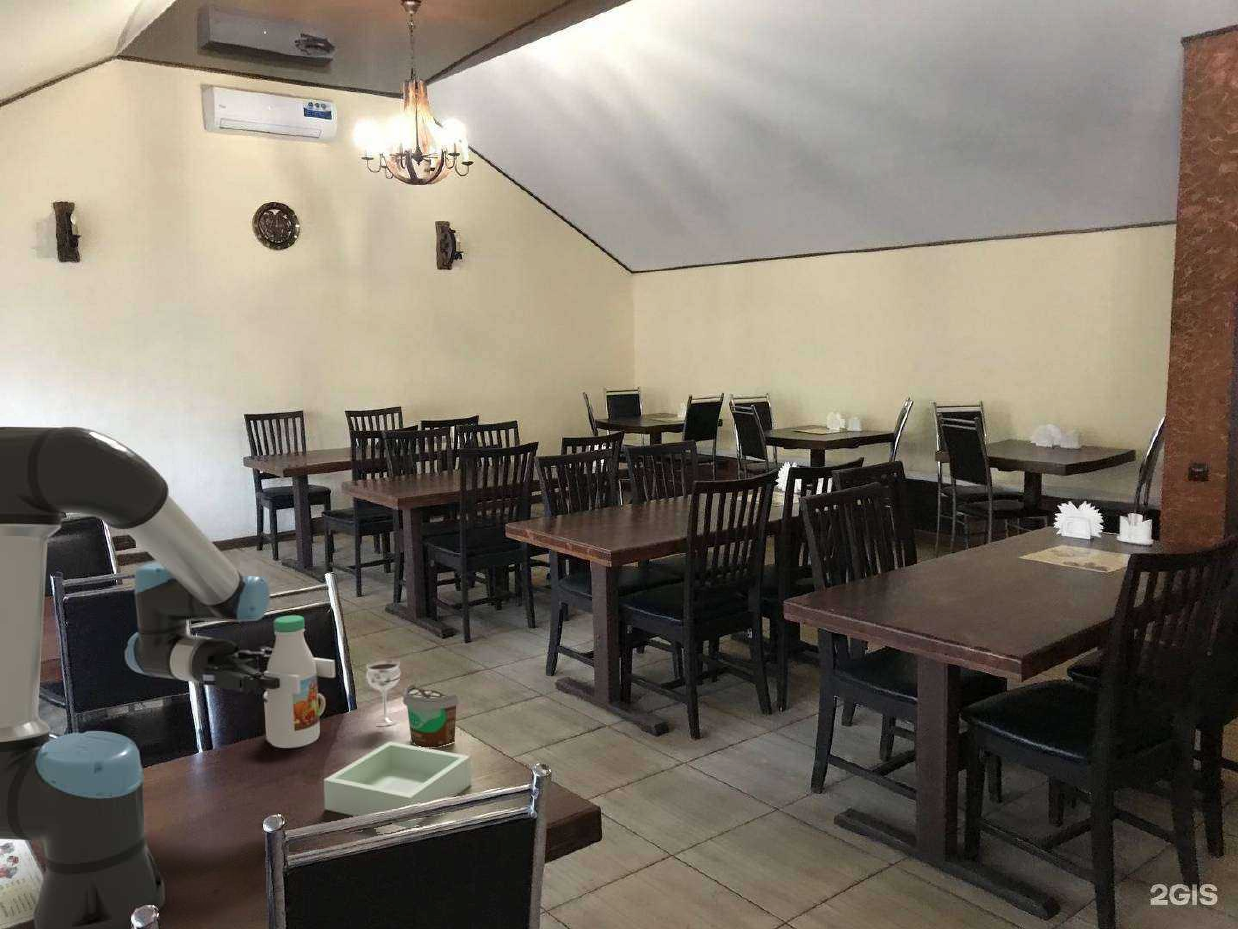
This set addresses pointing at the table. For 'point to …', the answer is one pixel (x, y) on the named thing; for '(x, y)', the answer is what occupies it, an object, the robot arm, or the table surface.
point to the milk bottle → (289, 712)
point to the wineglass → (383, 678)
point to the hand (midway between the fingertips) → (316, 676)
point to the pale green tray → (396, 780)
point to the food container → (430, 716)
